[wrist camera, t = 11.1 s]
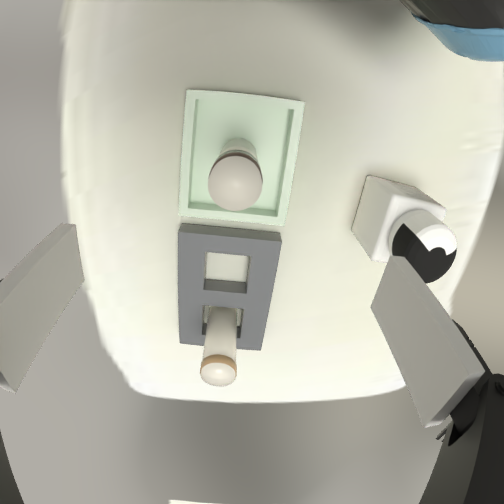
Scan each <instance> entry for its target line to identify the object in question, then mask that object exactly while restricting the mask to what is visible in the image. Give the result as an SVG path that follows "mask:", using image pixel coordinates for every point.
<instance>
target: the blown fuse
mask: <svg viewBox="0 0 504 504" xmlns="http://www.w3.org/2000/svg"><path fill="white" fill-rule="evenodd" d="M262 183H263V178H262V173H261V168H260V165H259V163H258V158H257V153H256V149H255V147H254V146H253V144H252V143H251V142H249V141H248V140H246V139H243V138H234V139H231V140H229V141H228V142H226V143H225V144H224V145H223V147H222V149H221V151H220V153H219V156H218V158H217V159H216V160H215V162H214V164H213V166H212V168H211V171H210V173H209V178H208V191H209V194H210V196H211V198H212V200H213V201H214V202H215V203H216V204H217V205H218V206H220V207H221V208H223V209H226V210H229V211H241V210H244V209H247V208H249V207H250V206H252V205H253V204H254V203H255V202H256V201H257V200H258V198H259V197H260V194H261V191H262Z"/></svg>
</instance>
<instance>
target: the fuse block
mask: <svg viewBox="0 0 504 504" xmlns="http://www.w3.org/2000/svg"><path fill="white" fill-rule="evenodd" d="M281 244H282V240H281V236H280V233H277V232H267V231H257V230H247V229H237V228H227V227H217V226H206V225H195V224H184V223H182V225H181V227H180V229H179V231H178V306H179V337H180V343H182V344H191V345H200V346H204V344H205V337H206V329H207V324H204V305H207V306H217V307H227V308H239V309H243V311H242V319H241V326H240V327H237V335H236V349H245V350H260V351H261V347H262V342H263V337H264V332H265V327H266V322H267V317H268V312H269V307H270V302H271V297H272V292H273V287H274V282H275V276H276V271H277V266H278V260H279V255H280V250H281ZM207 252H213V253H223V254H233V255H244V256H250V259H249V267H248V274H247V282H246V283H243V282H232V281H222V280H211V279H205V275H206V256H207Z"/></svg>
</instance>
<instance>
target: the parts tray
mask: <svg viewBox="0 0 504 504" xmlns="http://www.w3.org/2000/svg"><path fill="white" fill-rule="evenodd" d="M304 107H305V102H302V101H296V100H290V99H283V98H276V97H269V96H261V95H253V94H244V93H233V92H222V91H207V90H187V92H186V102H185V113H184V125H183V138H182V152H181V169H180V190H179V216H186V217H197V218H208V219H219V220H229V221H239V222H249V223H259V224H268V225H278V226H285V222H286V216H287V211H288V205H289V199H290V194H291V188H292V182H293V176H294V170H295V164H296V158H297V152H298V145H299V139H300V133H301V127H302V120H303V114H304ZM234 138H243V139H246V140H248V141H249V142H251V143H252V144H253V146H254V147H255V149H256V153H257V158H258V163H259V165H260V168H261V173H262V178H263V183H262V191H261V194H260V197H259V198H258V200H257V201H256V202H255V203H254V204H253V205H252V206H250V207H249V208H247V209H244V210H241V211H229V210H226V209H223V208H221V207H220V206H218V205H217V204H216V203H215V202H214V201H213V200H212V198H211V196H210V194H209V191H208V178H209V173H210V171H211V168H212V166H213V164H214V162H215V160H216V159H217V158H218V156H219V153H220V151H221V149H222V147H223V145H224V144H225V143H226V142H228V141H229V140H231V139H234Z"/></svg>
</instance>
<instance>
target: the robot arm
mask: <svg viewBox="0 0 504 504" xmlns="http://www.w3.org/2000/svg"><path fill="white" fill-rule="evenodd" d="M400 1H401V2H402V3H403V4H404V5H405V6H406V7H407V8H408V9H409V10H410V11H411V13H412V15H413V17H415V19H416V20H418V21H419V22H420V23H422V24H424V25H425V26H426V27H427V28H428V29H429V30H430V31H431V32H432V33H433V34H434V35H435V36H436V37H437V38H438V39H439V40H440V41H441V42H442V43H443V44H444V45H445V46H446V47H447V48H448V49H449V50H451V51H452V52H454V53H456V54H458V55H460V56H463V57H468V58H470V59H472V60H478V61H491V62H495V61H504V0H400ZM83 282H84V275H83V270H82V264H81V258H80V252H79V245H78V239H77V231H76V225H75V224H63V223H62V224H60V225H59V226H57V227H56V228H55V229H54V230H53V231H52V232H51V233H50V234H49V235H47V236H46V238H44V239H43V240H42V241H41V242H40V243H39V244H38V245H37V246H36V247H35V248H34V249H33V250H31V252H30V253H28V254H27V255H26V257H24V258H23V259H22V260H21V261H20V262H19V263H18V265H16V266H15V268H13V269H12V271H11V272H10V273H9V274H8V275H7V276H6V277H5V278H4V279H2V280H0V388H2V389H5V390H7V391H9V392H12V393H14V394H16V392H17V390H18V388H19V386H20V384H21V382H22V380H23V379H24V377H25V375H26V373H27V371H28V369H29V368H30V366H31V364H32V362H33V360H34V358H35V357H36V355H37V353H38V352H39V350H40V348H41V347H42V345H43V343H44V342H45V340H46V338H47V337H48V335H49V333H50V332H51V330H52V328H53V327H54V325H55V324H56V322H57V321H58V319H59V317H60V316H61V314H62V313H63V311H64V310H65V308H66V307H67V305H68V304H69V302H70V301H71V299H72V298H73V296H74V295H75V293H76V292H77V290H78V289H79V287H80V286H81V285H82V283H83ZM371 309H372V311H373V313H374V315H375V317H376V320H377V322H378V324H379V326H380V328H381V330H382V332H383V334H384V336H385V338H386V341H387V343H388V345H389V347H390V349H391V352H392V354H393V356H394V358H395V360H396V363H397V365H398V367H399V369H400V372H401V374H402V376H403V379H404V381H405V383H406V386H407V388H408V390H409V393H410V395H411V398H412V400H413V403H414V405H415V407H416V410H417V412H418V415H419V417H420V420H421V423H422V425H423V428H426V427H430V426H434V425H438V424H441V423H442V422H443V421H444V420H445V418H446V417H447V416H448V415H449V414H450V415H451V417H452V419H453V420H452V422H451V423H450V424H449V425H448V426H447V427H446V428H445V429H444V430H443V431H442V432H441V433H440V434H439V435H438V436H437V438H436V439H437V440H439V439H440V438H441V437H442V436H443V435H444V434H445V437H444V439H443V440H442V442H443V444H442V446H441V449H440V453H439V455H438V458H437V461H436V464H435V466H434V469H433V472H432V474H431V477H430V480H429V482H428V484H427V487H426V489H425V491H424V494H423V496H422V499H421V500H420V503H419V504H504V375H501V374H492V373H491V371H490V369H489V368H488V366H487V365H486V363H485V361H484V360H483V358H482V357H481V355H480V354H479V352H478V350H477V349H476V348H475V347H474V344H473V343H472V341H471V340H469V337H468V336H467V334H466V332H465V331H464V330H463V328H462V327H461V326H460V325H458V324H457V323H456V322H455V321H454V320H452V319H451V318H450V316H449V315H448V313H447V312H446V311H445V309H444V308H443V306H442V305H441V304H440V302H439V301H438V300H437V298H436V297H435V296H434V294H433V293H432V292H431V290H430V289H429V288H428V286H427V285H426V284H425V282H424V281H423V280H422V278H421V277H420V276H419V275H418V273H417V272H416V271H415V270H414V268H413V267H412V266H411V264H410V263H409V262H408V261H407V260H406V258H405V257H400V256H391V255H390V257H389V260H388V262H387V265H386V268H385V271H384V273H383V276H382V279H381V281H380V284H379V287H378V289H377V292H376V294H375V297H374V299H373V302H372V304H371ZM0 504H24V503H23V500H22V497H21V495H20V492H19V490H18V487H17V484H16V482H15V479H14V476H13V473H12V470H11V467H10V464H9V461H8V457H7V454H6V450H5V447H4V443H3V440H2V436H1V432H0Z"/></svg>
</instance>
